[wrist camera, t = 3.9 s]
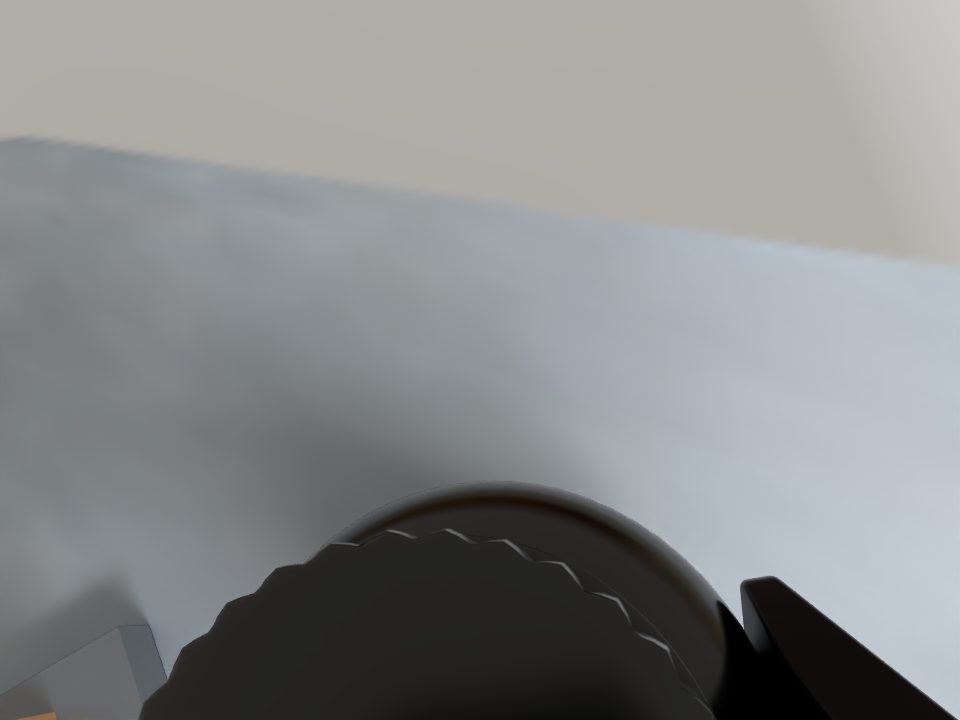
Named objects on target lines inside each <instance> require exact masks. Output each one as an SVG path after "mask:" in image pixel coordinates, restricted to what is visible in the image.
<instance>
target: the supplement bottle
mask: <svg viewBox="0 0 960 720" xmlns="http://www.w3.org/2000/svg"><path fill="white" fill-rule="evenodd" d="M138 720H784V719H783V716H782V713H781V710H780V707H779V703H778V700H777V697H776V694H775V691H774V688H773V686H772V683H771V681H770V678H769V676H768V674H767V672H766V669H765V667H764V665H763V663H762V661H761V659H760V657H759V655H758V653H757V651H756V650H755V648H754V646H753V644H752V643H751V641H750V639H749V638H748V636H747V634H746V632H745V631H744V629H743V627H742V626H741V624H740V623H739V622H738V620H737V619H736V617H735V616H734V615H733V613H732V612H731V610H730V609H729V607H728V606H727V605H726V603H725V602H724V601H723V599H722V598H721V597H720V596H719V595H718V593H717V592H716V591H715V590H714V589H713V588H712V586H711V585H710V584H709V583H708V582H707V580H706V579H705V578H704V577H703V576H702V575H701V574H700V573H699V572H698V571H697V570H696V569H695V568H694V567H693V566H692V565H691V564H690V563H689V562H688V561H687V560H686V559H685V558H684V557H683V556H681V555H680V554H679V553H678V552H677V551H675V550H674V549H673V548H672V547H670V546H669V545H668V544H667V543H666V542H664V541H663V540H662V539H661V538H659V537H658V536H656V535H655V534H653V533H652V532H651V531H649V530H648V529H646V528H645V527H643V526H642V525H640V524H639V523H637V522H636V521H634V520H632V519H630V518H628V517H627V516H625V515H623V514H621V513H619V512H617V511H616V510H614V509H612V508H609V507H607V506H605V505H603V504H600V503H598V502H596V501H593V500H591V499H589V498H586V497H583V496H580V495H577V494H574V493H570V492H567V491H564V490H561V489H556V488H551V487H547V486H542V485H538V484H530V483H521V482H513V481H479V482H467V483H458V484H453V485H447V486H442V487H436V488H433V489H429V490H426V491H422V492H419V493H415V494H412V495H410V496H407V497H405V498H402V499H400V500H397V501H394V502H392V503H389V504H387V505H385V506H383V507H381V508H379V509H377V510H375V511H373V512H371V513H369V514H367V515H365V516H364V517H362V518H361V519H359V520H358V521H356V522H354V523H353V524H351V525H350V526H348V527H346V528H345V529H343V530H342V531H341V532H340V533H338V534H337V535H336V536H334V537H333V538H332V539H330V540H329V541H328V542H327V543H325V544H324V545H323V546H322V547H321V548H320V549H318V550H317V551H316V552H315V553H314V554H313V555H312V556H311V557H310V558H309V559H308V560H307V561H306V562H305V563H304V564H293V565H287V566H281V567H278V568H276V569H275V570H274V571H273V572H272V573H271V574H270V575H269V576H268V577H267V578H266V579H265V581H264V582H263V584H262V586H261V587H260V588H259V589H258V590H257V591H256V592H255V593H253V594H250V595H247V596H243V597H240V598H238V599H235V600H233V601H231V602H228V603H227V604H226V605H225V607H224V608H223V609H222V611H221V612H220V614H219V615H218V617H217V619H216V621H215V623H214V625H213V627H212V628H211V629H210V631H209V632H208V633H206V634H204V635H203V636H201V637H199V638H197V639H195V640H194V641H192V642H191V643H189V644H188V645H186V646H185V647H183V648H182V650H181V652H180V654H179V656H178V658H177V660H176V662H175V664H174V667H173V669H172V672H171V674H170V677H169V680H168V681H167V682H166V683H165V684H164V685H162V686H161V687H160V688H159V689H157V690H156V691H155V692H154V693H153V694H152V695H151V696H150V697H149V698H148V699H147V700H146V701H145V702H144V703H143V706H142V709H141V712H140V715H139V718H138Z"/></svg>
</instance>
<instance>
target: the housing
mask: <svg viewBox="0 0 960 720" xmlns="http://www.w3.org/2000/svg"><path fill="white" fill-rule="evenodd" d="M166 682H167V679H166V676H165V673H164V670H163V666H162V663H161V660H160V657H159V654H158V651H157V648H156V645H155V642H154V639H153V636H152V633H151V630H150V627H149V625H140V626H120V627H116V628H115V629H113V630H111V631H110V632H108V633H106V634H105V635H103V636H101V637H99V638H98V639H96V640H94V641H93V642H91V643H89V644H87V645H86V646H84V647H82V648H81V649H79V650H77V651H76V652H74V653H72V654H70V655H69V656H67V657H65V658H64V659H62V660H60V661H58V662H57V663H55V664H53V665H52V666H50V667H48V668H46V669H45V670H43V671H41V672H40V673H38V674H36V675H35V676H33V677H31V678H29V679H28V680H26V681H24V682H23V683H21V684H19V685H17V686H16V687H14V688H12V689H11V690H9V691H7V692H5V693H4V694H2V695H0V720H138V718H139V715H140V712H141V709H142V706H143V703H144V702H145V701H146V700H147V699H148V698H149V697H150V696H151V695H152V694H153V693H154V692H155V691H156V690H157V689H159V688H160V687H161V686H162V685H164V684H165V683H166Z"/></svg>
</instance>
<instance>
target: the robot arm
mask: <svg viewBox="0 0 960 720" xmlns="http://www.w3.org/2000/svg"><path fill="white" fill-rule="evenodd" d="M740 593H741V603H742V613H743V623H744V631H745V632H746V634H747V636H748V638H749V639H750V641H751V643H752V644H753V646H754V648H755V650H756V651H757V653H758V655H759V657H760V659H761V661H762V663H763V665H764V667H765V669H766V672H767V674H768V676H769V678H770V681H771V683H772V686H773V688H774V691H775V694H776V697H777V700H778V703H779V707H780V710H781V713H782V716H783V719H784V720H958V719H956V718H955V717H954V716H953V715H951V714H950V713H949V712H947V711H946V710H945V709H944V708H942V707H941V706H940V705H939V704H937V703H936V702H935V701H933V700H932V699H931V698H930V697H928V696H927V695H926V694H925V693H923V692H922V691H921V690H919V689H918V688H917V687H916V686H914V685H913V684H912V683H911V682H909V681H908V680H907V679H906V678H904V677H903V676H902V675H900V674H899V673H898V672H897V671H895V670H894V669H893V668H892V667H890V666H889V665H888V664H886V663H885V662H884V661H883V660H881V659H880V658H879V657H878V656H876V655H875V654H874V653H872V652H871V651H870V650H869V649H867V648H866V647H865V646H864V645H862V644H861V643H860V642H859V641H857V640H856V639H855V638H853V637H852V636H851V635H850V634H848V633H847V632H846V631H845V630H843V629H842V628H841V627H839V626H838V625H837V624H836V623H834V622H833V621H832V620H831V619H829V618H828V617H827V616H825V615H824V614H823V613H822V612H820V611H819V610H818V609H817V608H815V607H814V606H813V605H811V604H810V603H809V602H808V601H806V600H805V599H804V598H803V597H801V596H800V595H799V594H798V593H796V592H795V591H794V590H792V589H791V588H790V587H789V586H787V585H786V584H785V583H784V582H782V581H781V580H780V579H778V578H776V577H774V576H765V577H759V578H753V579H747V580H744V581H743V582H742V583H741V585H740Z"/></svg>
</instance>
